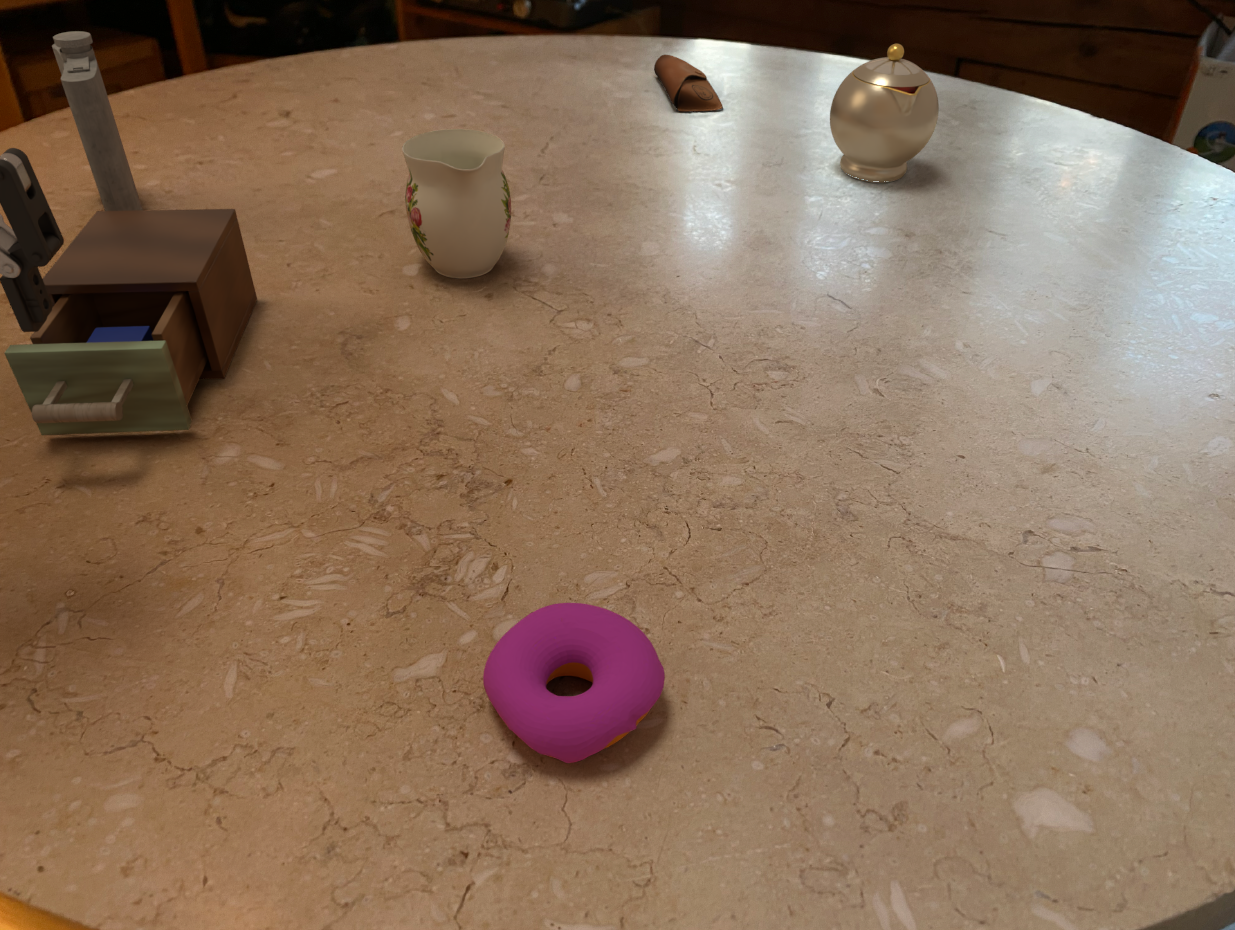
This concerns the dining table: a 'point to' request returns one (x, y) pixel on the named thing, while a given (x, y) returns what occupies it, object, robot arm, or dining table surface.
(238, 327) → the cabinet
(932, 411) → the dining table surface
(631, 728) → the donut
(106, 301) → the compartment
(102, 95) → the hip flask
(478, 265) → the pitcher
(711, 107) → the sunglasses case
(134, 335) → the navy blue cube
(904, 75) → the teapot
